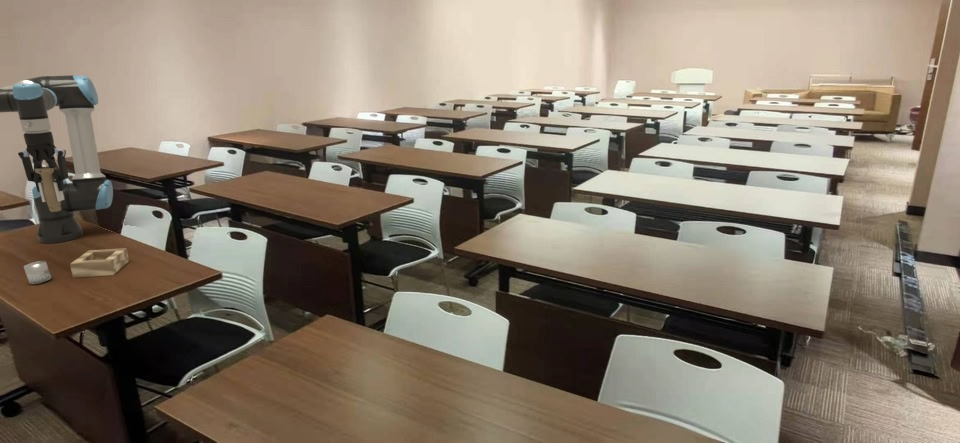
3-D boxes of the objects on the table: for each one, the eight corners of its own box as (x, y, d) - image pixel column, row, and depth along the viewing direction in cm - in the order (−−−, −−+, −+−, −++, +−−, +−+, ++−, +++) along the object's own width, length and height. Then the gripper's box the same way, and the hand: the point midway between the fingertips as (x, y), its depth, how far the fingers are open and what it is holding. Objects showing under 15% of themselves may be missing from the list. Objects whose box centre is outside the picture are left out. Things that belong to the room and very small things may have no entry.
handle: (58, 213, 191) (48, 169, 187) (41, 212, 192) (30, 169, 188) (70, 209, 196) (60, 166, 192) (52, 208, 197) (42, 166, 192)
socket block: (91, 263, 205) (88, 250, 204) (129, 261, 208) (126, 248, 206) (73, 277, 193) (69, 264, 191) (113, 275, 195) (110, 261, 193)
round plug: (26, 283, 189) (20, 266, 188) (46, 276, 194) (41, 259, 192) (34, 285, 186) (28, 268, 184) (54, 278, 191) (49, 261, 189)
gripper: (1, 134, 182) (19, 204, 188) (59, 132, 184) (75, 202, 191) (15, 131, 189) (32, 199, 195) (71, 129, 191) (86, 196, 198)
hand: (53, 200), depth 193 cm, fingers closed on handle, 4 cm apart
